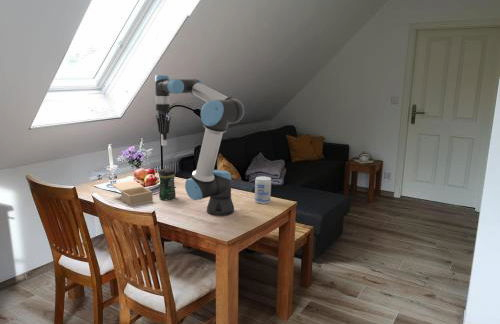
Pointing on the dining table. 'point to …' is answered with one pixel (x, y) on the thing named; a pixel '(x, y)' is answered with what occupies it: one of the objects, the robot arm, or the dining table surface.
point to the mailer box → (136, 196)
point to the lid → (127, 185)
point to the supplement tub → (262, 189)
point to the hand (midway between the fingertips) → (164, 145)
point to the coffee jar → (167, 184)
